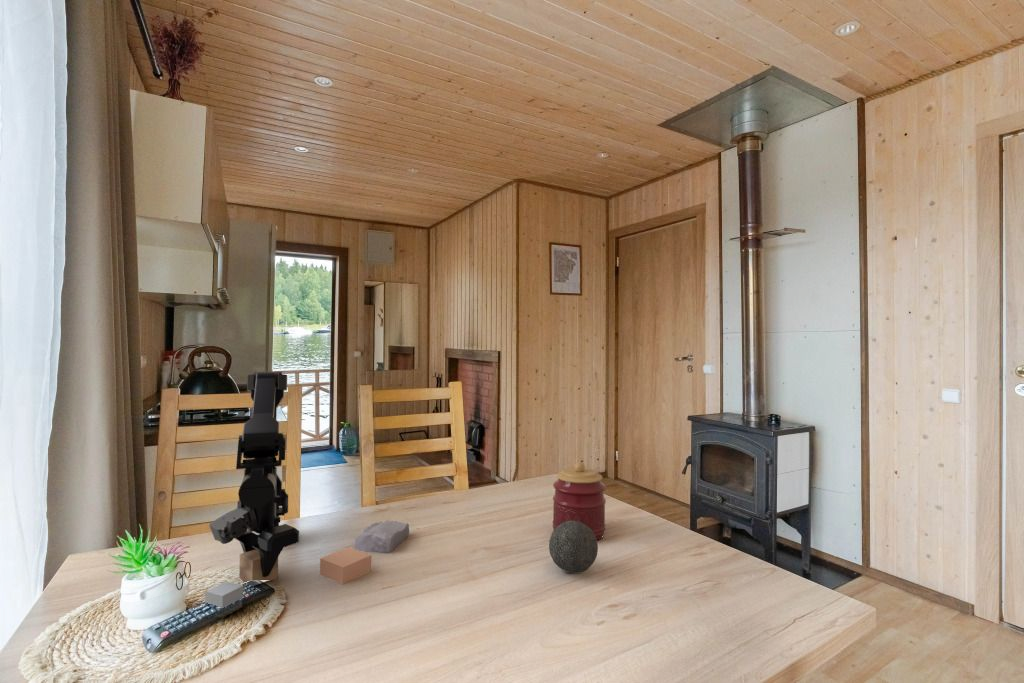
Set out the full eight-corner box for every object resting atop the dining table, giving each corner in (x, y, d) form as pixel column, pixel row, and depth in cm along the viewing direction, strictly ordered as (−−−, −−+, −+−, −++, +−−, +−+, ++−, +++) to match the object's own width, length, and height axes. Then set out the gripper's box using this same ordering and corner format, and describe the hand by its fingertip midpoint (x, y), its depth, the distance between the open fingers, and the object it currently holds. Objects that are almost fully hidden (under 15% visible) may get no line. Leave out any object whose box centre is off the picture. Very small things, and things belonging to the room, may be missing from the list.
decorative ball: (538, 570, 102) (539, 522, 103) (567, 556, 110) (568, 510, 110) (578, 587, 96) (579, 535, 96) (607, 570, 103) (607, 522, 103)
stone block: (351, 559, 111) (392, 554, 109) (347, 537, 112) (388, 532, 110) (375, 540, 123) (413, 536, 121) (372, 521, 123) (410, 516, 121)
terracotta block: (319, 575, 100) (320, 558, 100) (348, 563, 105) (348, 546, 105) (342, 585, 96) (342, 567, 96) (371, 572, 102) (371, 554, 102)
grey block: (204, 615, 84) (205, 591, 84) (226, 603, 88) (226, 581, 88) (222, 620, 83) (222, 596, 83) (242, 608, 87) (243, 585, 87)
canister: (613, 530, 125) (614, 460, 125) (592, 548, 114) (593, 471, 115) (566, 520, 132) (567, 453, 132) (543, 535, 121) (543, 463, 122)
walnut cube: (239, 579, 97) (239, 554, 97) (264, 570, 101) (265, 546, 101) (252, 587, 94) (252, 561, 94) (277, 577, 98) (278, 552, 98)
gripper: (194, 493, 96) (192, 574, 96) (241, 513, 85) (239, 604, 85) (252, 480, 105) (251, 554, 105) (301, 497, 94) (300, 580, 94)
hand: (258, 572), depth 97 cm, fingers closed on walnut cube, 5 cm apart
